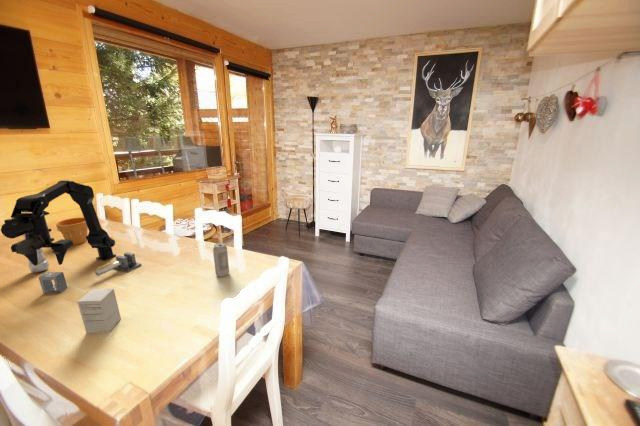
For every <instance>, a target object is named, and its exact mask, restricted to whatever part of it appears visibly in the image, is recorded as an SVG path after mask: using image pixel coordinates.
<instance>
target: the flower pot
mask: <svg viewBox="0 0 640 426" xmlns="http://www.w3.org/2000/svg"><path fill="white" fill-rule="evenodd" d="M55 226H56V229H57V231H59V232H60V233H61V234H62V236H63V239H70V240H72V241H73V246H74V245H80V244H83V243H86V242H88V241H87V239H86V236H88V231H89V229H88V227H87V224H86V221H85V219H84V217H73V218H67V219H63V220H59V221H58V222H56V224H55Z"/></svg>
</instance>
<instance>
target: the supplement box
mask: <svg viewBox="0 0 640 426" xmlns="http://www.w3.org/2000/svg"><path fill="white" fill-rule="evenodd" d="M77 305H78V308H79V313H80V316H81V319H82V323H83V325H84V331H85V334H102V333H103V334H105V333H110V332H111V331H112V329H114V327H115V326H116V325H117V324H118V322H119V321H120V320H121V319H122V317H121V314H120V309H119V305H118V300H117V297H116V291H115V289H114V288H99V289H97V288H95V289H90V290H89V292H87V293H86V294H84V296H82V297H81V298H80V299H78V300H77Z"/></svg>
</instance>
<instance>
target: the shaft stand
mask: <svg viewBox="0 0 640 426" xmlns="http://www.w3.org/2000/svg"><path fill="white" fill-rule="evenodd" d="M115 259H116V260H115V261H114V262H112V263H109V262H107V263H105V264H103V265H101V266H98V267H96V269H95V270H94V274H95V275H96V276H97V277H99V276H102V275H103V274H106V273H108V272H111V271H113V270H114V269H115V270H119V271H123V272H127V273H129V272H131V271H133V270H135V269H137V268H140V267H141V266H142V263H139V262H137V261H136V255H135V253H132V252H125V253H123V255H116V256H115Z"/></svg>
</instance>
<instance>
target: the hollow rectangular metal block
mask: <svg viewBox="0 0 640 426" xmlns="http://www.w3.org/2000/svg"><path fill="white" fill-rule="evenodd" d="M37 278H38V281H39V284H40V287H41V290H42V294H43V295H45V294H61V293H63V292H64V291H65V290H66V289H68V287H69V286H68V284H67V281H66V278H65V274H64V271H53V272H52V271H50V272H49V271H48V272H47V271H46V272H45V273H43V274H42V275H40V276H38V277H37ZM53 281H54V282H53ZM53 283H54V284H53Z"/></svg>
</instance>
